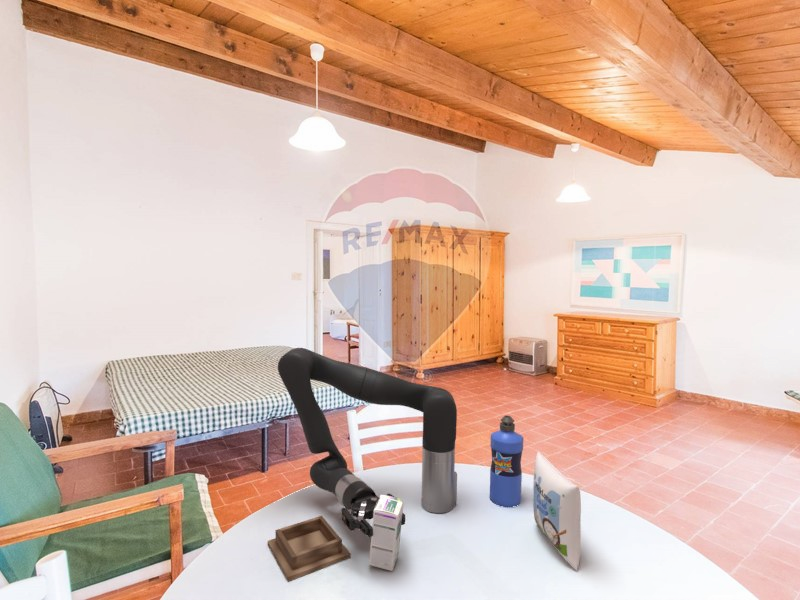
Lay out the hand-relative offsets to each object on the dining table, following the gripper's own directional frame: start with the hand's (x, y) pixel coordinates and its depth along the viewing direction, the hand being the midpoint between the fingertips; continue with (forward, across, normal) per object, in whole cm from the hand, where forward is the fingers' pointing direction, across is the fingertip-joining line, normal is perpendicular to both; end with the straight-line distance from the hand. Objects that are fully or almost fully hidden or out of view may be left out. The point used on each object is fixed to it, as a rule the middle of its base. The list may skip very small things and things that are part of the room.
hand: (388, 526), depth 99 cm
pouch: (+15, +39, +10) cm, 43 cm away
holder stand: (-15, -13, +10) cm, 22 cm away
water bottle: (-7, +45, +10) cm, 46 cm away
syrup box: (-2, 0, +9) cm, 9 cm away
